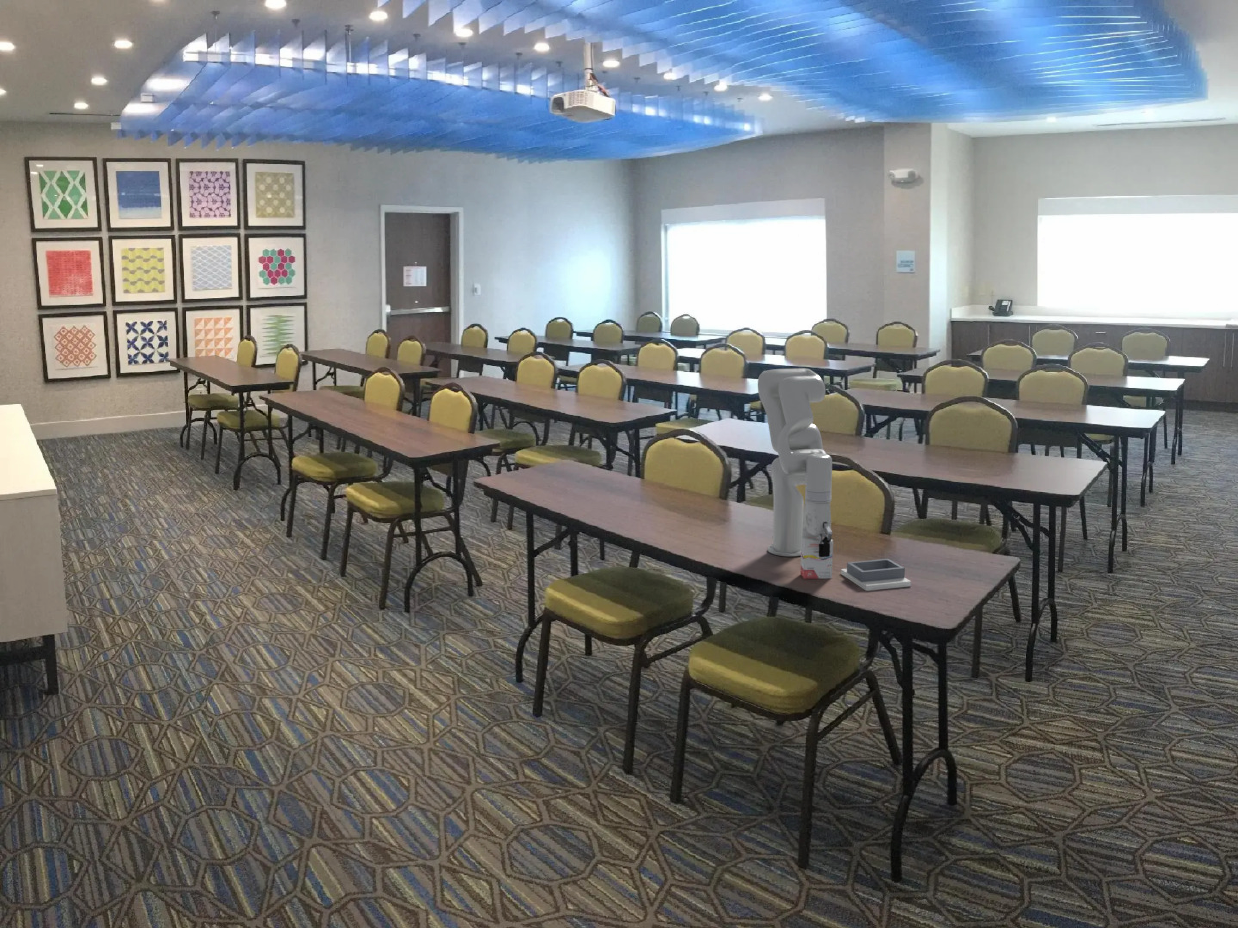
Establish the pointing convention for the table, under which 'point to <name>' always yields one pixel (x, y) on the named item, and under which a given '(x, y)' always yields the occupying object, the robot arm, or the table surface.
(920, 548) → the table surface
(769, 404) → the robot arm
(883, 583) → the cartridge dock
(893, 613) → the table surface
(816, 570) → the ink cartridge box
